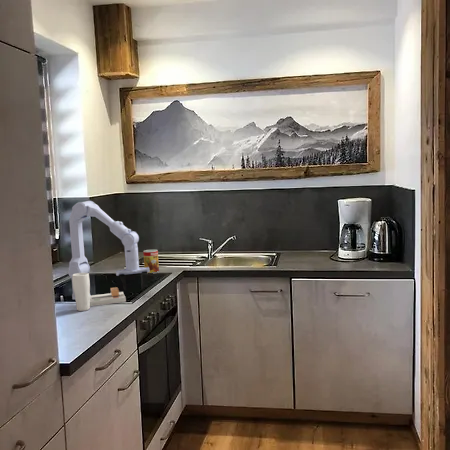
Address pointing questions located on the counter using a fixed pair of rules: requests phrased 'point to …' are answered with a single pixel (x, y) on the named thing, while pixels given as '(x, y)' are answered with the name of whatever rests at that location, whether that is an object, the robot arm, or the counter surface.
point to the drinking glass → (81, 290)
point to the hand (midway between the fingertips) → (134, 289)
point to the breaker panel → (106, 299)
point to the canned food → (151, 260)
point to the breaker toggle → (115, 291)
